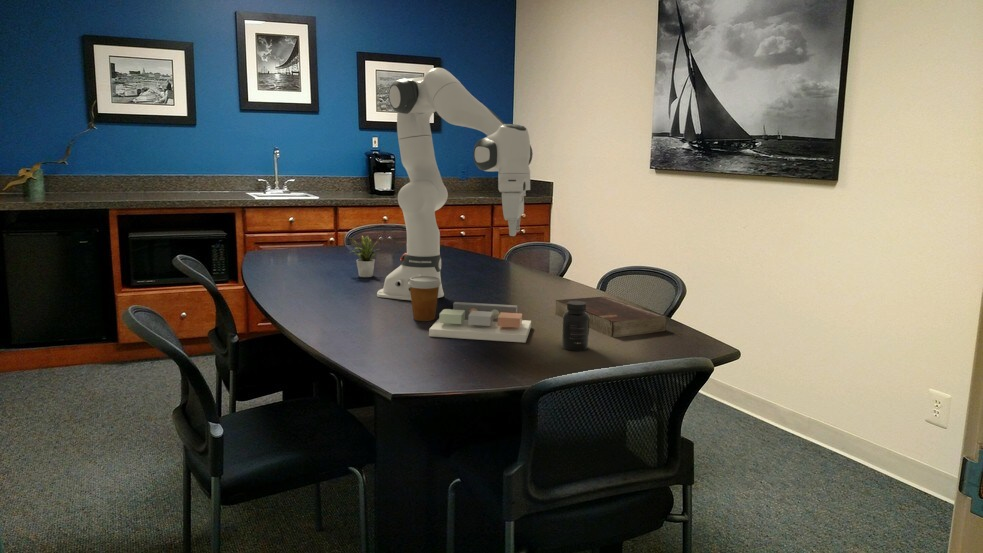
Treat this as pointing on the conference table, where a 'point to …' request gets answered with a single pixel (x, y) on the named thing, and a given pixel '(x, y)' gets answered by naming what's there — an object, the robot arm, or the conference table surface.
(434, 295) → the disposable coffee cup
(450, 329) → the keypad
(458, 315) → the sage key
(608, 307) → the hardback book
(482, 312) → the grey key
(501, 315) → the terracotta key
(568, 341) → the supplement bottle
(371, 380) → the conference table surface
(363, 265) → the house plant
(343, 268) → the conference table surface
